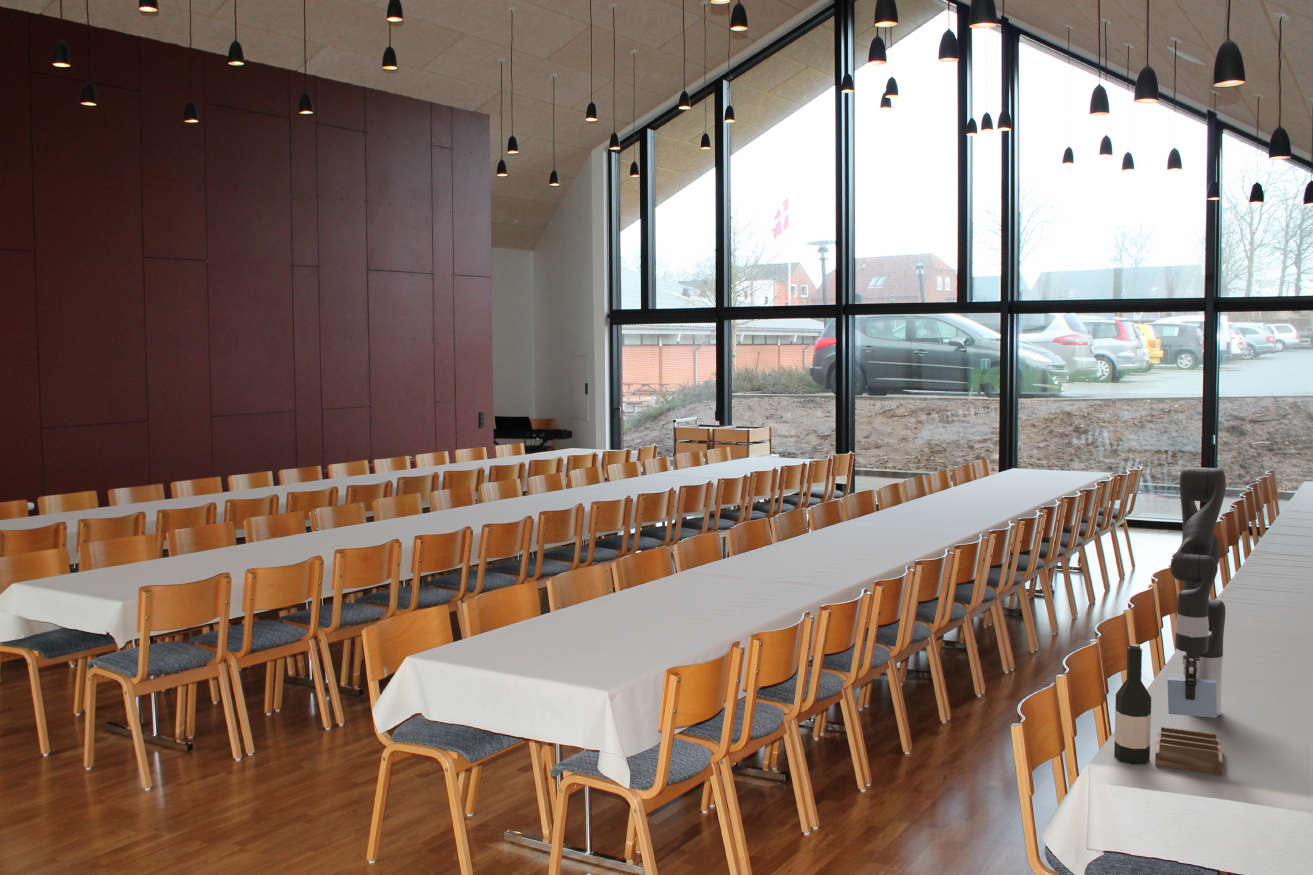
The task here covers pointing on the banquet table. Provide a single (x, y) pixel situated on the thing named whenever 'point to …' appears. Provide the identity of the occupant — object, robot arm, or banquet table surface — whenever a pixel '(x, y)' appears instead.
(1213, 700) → the light blue flat block
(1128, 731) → the wine bottle
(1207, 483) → the robot arm
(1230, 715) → the banquet table surface
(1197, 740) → the rack
